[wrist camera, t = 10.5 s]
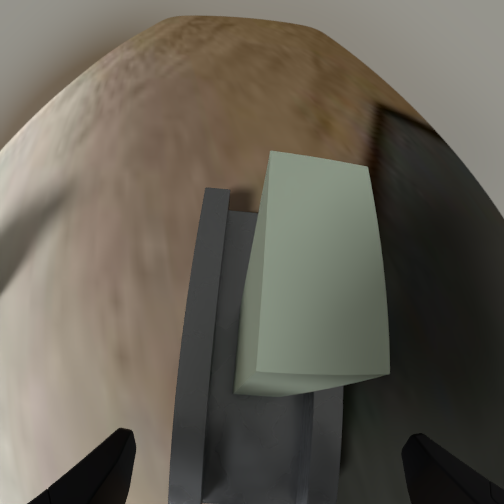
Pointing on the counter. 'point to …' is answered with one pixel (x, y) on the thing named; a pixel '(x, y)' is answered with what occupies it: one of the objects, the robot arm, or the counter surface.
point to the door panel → (313, 282)
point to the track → (236, 405)
